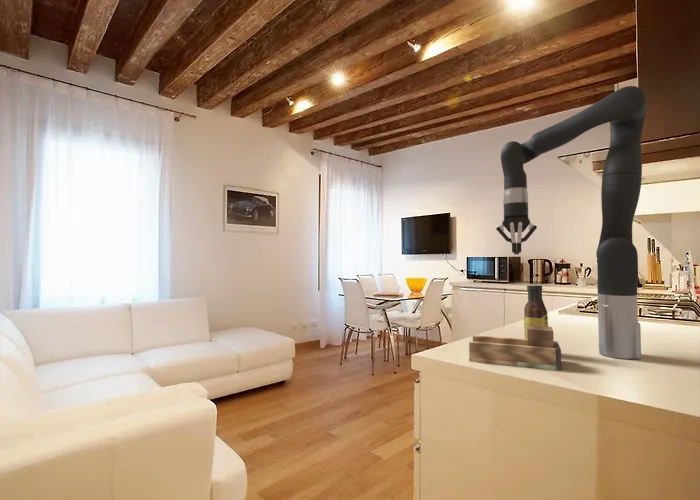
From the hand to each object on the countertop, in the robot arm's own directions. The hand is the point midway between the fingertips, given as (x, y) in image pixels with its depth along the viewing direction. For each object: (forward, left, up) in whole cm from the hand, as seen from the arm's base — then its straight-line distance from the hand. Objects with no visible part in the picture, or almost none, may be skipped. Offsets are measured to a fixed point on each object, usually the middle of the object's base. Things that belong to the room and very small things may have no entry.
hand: (516, 254), depth 125 cm
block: (-5, +25, -28) cm, 38 cm away
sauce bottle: (-5, +14, -29) cm, 33 cm away
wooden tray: (+1, +25, -29) cm, 38 cm away
